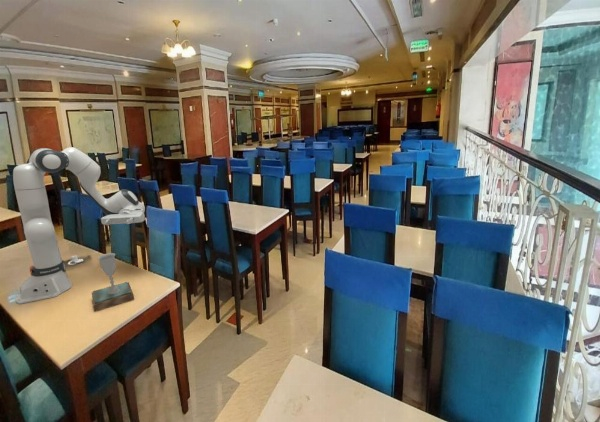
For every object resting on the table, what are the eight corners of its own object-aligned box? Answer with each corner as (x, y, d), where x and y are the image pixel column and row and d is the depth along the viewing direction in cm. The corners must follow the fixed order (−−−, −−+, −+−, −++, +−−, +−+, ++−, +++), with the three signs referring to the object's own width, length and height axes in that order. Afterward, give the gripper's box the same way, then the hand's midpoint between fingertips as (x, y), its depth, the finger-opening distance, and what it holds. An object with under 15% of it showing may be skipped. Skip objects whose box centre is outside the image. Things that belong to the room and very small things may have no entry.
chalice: (114, 295, 147) (106, 259, 142) (101, 294, 148) (93, 259, 143) (125, 287, 154) (118, 253, 149) (113, 287, 155) (106, 252, 150)
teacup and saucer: (83, 263, 194) (82, 257, 193) (67, 266, 190) (66, 260, 189) (83, 258, 201) (82, 252, 200) (68, 262, 197) (66, 255, 196)
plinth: (94, 311, 142) (93, 303, 141) (92, 298, 153) (91, 291, 152) (134, 299, 151) (132, 292, 150) (129, 287, 162) (128, 280, 161)
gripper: (107, 211, 173) (93, 218, 160) (146, 209, 175) (136, 216, 162) (109, 222, 175) (96, 230, 161) (147, 219, 176) (138, 227, 163)
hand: (116, 223), depth 162 cm, fingers open, 8 cm apart
